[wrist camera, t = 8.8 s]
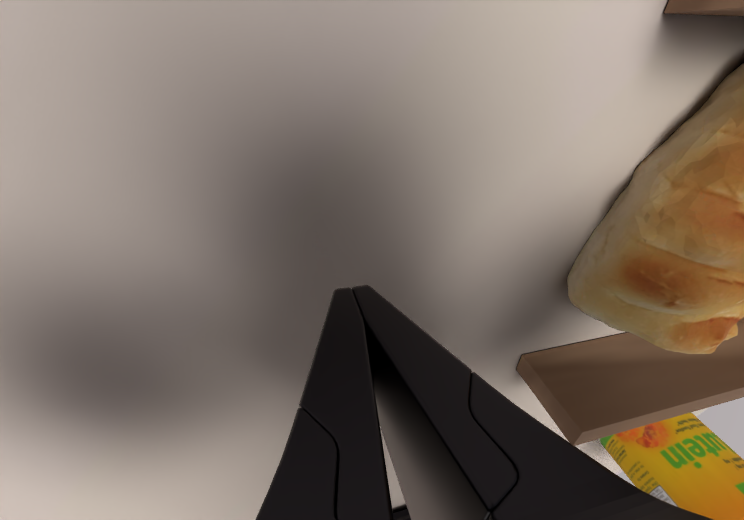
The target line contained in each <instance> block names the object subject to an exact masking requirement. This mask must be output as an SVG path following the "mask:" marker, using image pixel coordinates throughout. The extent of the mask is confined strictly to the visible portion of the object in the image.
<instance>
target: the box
mask: <svg viewBox="0 0 744 520" xmlns="http://www.w3.org/2000/svg"><path fill="white" fill-rule="evenodd" d="M664 13H671V14H696V15H722V16H744V0H669V2H668V5H667V7H666V9H665V12H664ZM737 328H738V335H737V336H735V337H732V338H730V339H728V340H724V341H723V342H722V343H721V344H720V345H719V346H718V347H717V348H716V350H715V351H714V352H713V353H711V354H686V353H681V352H673V351H668V350H665V349H663V348H660V347H658V346H655V345H654V344H652V343H650V342H648V341H646V340H644V339H643V338H641V337H639V336H637V335H634V334H632V333H630V332H628V333H623V334H618V335H614V336H609V337H604V338H599V339H595V340H590V341H585V342H580V343H576V344H571V345H566V346H562V347H557V348H552V349H547V350H543V351H538V352H533V353H528V354H524V355H522V356H521V359H520V361H519V363H518V366H517V368H516V370H517V371H518V372H519V374H520V375H521V377H522V378H523V379H524V381H525V382H526V383H527V385H528V386H529V388H530V389H531V390H532V392H533V393H534V394H535V396H536V397H537V399H538V400H539V401H540V403H541V404H542V405H543V407H544V408H545V410H546V411H547V412H548V414H549V415H550V416H551V418H552V419H553V420H554V422H555V423H556V425H557V426H558V427H559V429H560V430H561V431H562V433H563V434H564V436H565V437H566V438H567V440H568V441H569V442H570V443H571V444H572V445H574V446H575V445H579V444H582V443H586V442H589V441H593V440H596V439H600V438H603V437H607V436H610V435H614V434H617V433H621V432H624V431H627V430H631V429H634V428H638V427H641V426H645V425H648V424H652V423H655V422H659V421H662V420H666V419H669V418H673V417H676V416H680V415H683V414H687V413H690V412H693V411H697V410H700V409H704V408H707V407H711V406H714V405H718V404H721V403H724V402H728V401H732V400H735V399H739V398H742V397H744V317H743V318H742V319H741V320H739V321H738V322H737Z"/></svg>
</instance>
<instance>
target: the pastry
mask: <svg viewBox="0 0 744 520" xmlns="http://www.w3.org/2000/svg"><path fill="white" fill-rule="evenodd" d="M567 286H568V296H569V299H570V301H571V302H572V304H573V305H574V306H575V307H577V308H579V309H580V310H581V311H582V312H584V313H586V314H587V315H589V316H591V317H593V318H595V319H597V320H599V321H602V322H604V323H605V324H607V325H608V326H610V327H612V328H615V329H617V330H620V331H625V332H630V333H632V334H634V335H637V336H639V337H641V338H643V339H644V340H646V341H648V342H650V343H652V344H654V345H655V346H658V347H660V348H663V349H665V350H668V351H673V352H681V353H686V354H711V353H713V352H714V351H715V350H716V348H717V347H718V346H719V345H720V344H721V343H722V342H723V341H724V340H728V339H730V338H732V337H735V336H737V335H738V328H737V322H738V321H739V320H741V319H742V318H743V317H744V63H743V64H742V65H741V66H739V67H738V68H737V69H736V70H734V71H733V72H732V73H730V74H729V75H728V76H727V77H726V78H725V79H724V80H723V81H722V82H721V83H720V84H719V86H718V87H717V88H716V89H715V91H714V92H713V93H712V95H711V96H710V98H709V99H708V100H707V101H706V102H705V104H704V105H703V106H702V107H701V108H700V109H699V110H698V111H697V112H696V113H695V114H694V115H693V116H692V117H690V118H689V119H688V120H687V121H685V122H684V123H683V124H682V125H681V126H680V127H679V128H678V129H677V130H676V131H675V132H674V133H673V134H672V135H671V136H670V137H669V138H668V139H667V140H666V141H665V142H664V143H663V144H661V145H660V146H659V147H658V148H656V149H655V150H654V151H653V152H652V153H651V154H649V155H648V156H647V157H646V158H645V159H644V160H643V161H642V162H641V163H640V164H639V166H638V167H637V168H636V169H635V171H634V173H633V176H632V180H631V182H630V183H629V185H628V186H627V187H626V189H625V190H624V191H623V192H622V193H621V194H620V196H619V197H618V198H617V200H616V201H615V203H614V204H613V206H612V207H611V209H610V210H609V212H608V213H607V214H606V216H605V217H604V219H603V220H602V221H601V223H600V224H599V225H598V226H597V227H596V229H595V230H594V231H593V233H592V235H591V236H590V238H589V240H588V241H587V242H586V244H585V246H584V247H583V249H582V251H581V253H580V254H579V256H578V257H577V258H576V260H575V262H574V265H573V267H572V269H571V271H570V273H569V275H568V278H567Z"/></svg>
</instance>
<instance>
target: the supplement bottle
mask: <svg viewBox="0 0 744 520" xmlns="http://www.w3.org/2000/svg"><path fill="white" fill-rule="evenodd" d="M598 440H599V441H600V442H601V444H602V445H603V446H604V448H605V449H606V450H607V451H608V453H609V454H610V455H611V456H612V458H613V459H614V460H615V461H616V463H617V464H618V465H619V466H620V468H621V469H622V470H623V471H624V473H625V474H626V475H627V476H628V477H629V479H630V480H631V481H632V483H633V484H634V485H635V486H636V487H637V488H639V489H640V490H642V491H644V492H646V493H648V494H650V495H652V496H654V497H656V498H658V499H660V500H663V501H665V502H667V503H669V504H672V505H674V506H677V507H679V508H682V509H685V510H688V511H691V512H694V513H696V514H699V515H702V516H705V517H708V518H711V519H714V520H744V460H743V459H742V458H741V457H740V456H739V455H738V454H736V453H735V452H734V451H733V450H732V449H731V448H730V447H729V446H728V445H727V444H725V443H724V442H723V441H722V440H721V439H720V438H719V437H718V436H717V435H715V434H714V433H713V432H712V431H711V430H710V429H709V428H708V427H707V426H705V425H704V424H703V423H702V422H701V421H700V420H699V419H698V418H697V417H696V416H694V415H693V414H692V413H691V412H690V413H687V414H683V415H680V416H676V417H673V418H669V419H666V420H662V421H659V422H655V423H652V424H648V425H645V426H641V427H638V428H634V429H631V430H627V431H624V432H621V433H617V434H614V435H610V436H607V437H603V438H600V439H598Z"/></svg>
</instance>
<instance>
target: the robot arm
mask: <svg viewBox="0 0 744 520" xmlns="http://www.w3.org/2000/svg"><path fill="white" fill-rule="evenodd" d="M471 372H472V371H471V369H470V368H468V367H467V366H466V365H465V364H464V363H462V362H461V361H460V360H459V359H458V358H456V357H455V356H454V355H453V354H451V353H450V352H449V351H448V350H447V349H445V348H444V347H443V346H442V345H441V344H439V343H438V342H437V341H436V340H434V339H433V338H432V337H431V336H430V335H428V334H427V333H426V332H425V331H424V330H422V329H421V328H420V327H419V326H417V325H416V324H415V323H414V322H413V321H411V320H410V319H409V318H408V317H407V316H405V315H404V314H403V313H402V312H400V311H399V310H398V309H397V308H396V307H394V306H393V305H392V304H391V303H390V302H388V301H387V300H386V299H385V298H383V297H382V296H381V295H380V294H379V293H377V292H376V291H375V290H374V289H373V288H371V287H370V286H368V285H363V286H356V287H353V288H352V289H351V288H349V287H348V288H340V289H336V290H335V291H334V293H333V296H332V299H331V302H330V306H329V309H328V312H327V316H326V319H325V322H324V325H323V329H322V332H321V335H320V338H319V342H318V345H317V348H316V352H315V355H314V358H313V361H312V365H311V368H310V371H309V374H308V378H307V381H306V384H305V388H304V391H303V394H302V397H301V401H300V404H299V409H298V410H297V413H296V416H295V419H294V423H293V426H292V429H291V432H290V435H289V438H288V441H287V444H286V447H285V450H284V452H283V455H282V458H281V461H280V463H279V466H278V468H277V470H276V473H275V475H274V478H273V480H272V483H271V485H270V488H269V490H268V493H267V495H266V497H265V499H264V502H263V504H262V506H261V509H260V511H259V513H258V515H257V518H256V520H714V519H711V518H708V517H705V516H702V515H699V514H696V513H694V512H691V511H688V510H685V509H682V508H679V507H677V506H674V505H672V504H669V503H667V502H665V501H663V500H660V499H658V498H656V497H654V496H652V495H650V494H648V493H646V492H644V491H642V490H640V489H639V488H637V487H635V486H633V485H632V484H630V483H628V482H627V481H625V480H623V479H622V478H620V477H619V476H617V475H616V474H614V473H613V472H611V471H610V470H608V469H607V468H606V467H604V466H603V465H601V464H600V463H598V462H597V461H595V460H594V459H592V458H591V457H590V456H588V455H587V454H585V453H584V452H582V451H581V450H579V449H578V448H576V447H575V446H574V445H572V444H571V443H569V442H568V441H566V440H565V439H563V438H562V437H560V436H559V435H558V434H556V433H555V432H553V431H552V430H550V429H549V428H547V427H546V426H544V425H543V424H542V423H540V422H539V421H537V420H536V419H535V418H533V417H532V416H530V415H529V414H528V413H526V412H525V411H523V410H522V409H521V408H519V407H518V406H516V405H515V404H514V403H512V402H511V401H510V400H508V399H507V398H506V397H505V396H503V395H502V394H501V393H500V392H498V391H497V390H496V389H494V388H493V387H492V386H491V385H489V384H488V383H487V382H486V381H484V380H483V379H482V378H481V377H480V376H478V375H477V374H476V373H475V372H473V373H471ZM380 427H381V430H382V433H383V436H384V439H385V442H386V445H387V448H388V451H389V454H390V457H391V460H392V463H393V466H394V469H395V472H396V475H397V478H398V481H399V484H400V487H401V490H402V493H403V496H404V499H405V502H406V505H407V508H408V509H405V510H402V511H399V512H395V513H393V512H392V505H391V498H390V492H389V485H388V478H387V471H386V465H385V458H384V451H383V444H382V438H381V431H380Z"/></svg>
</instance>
